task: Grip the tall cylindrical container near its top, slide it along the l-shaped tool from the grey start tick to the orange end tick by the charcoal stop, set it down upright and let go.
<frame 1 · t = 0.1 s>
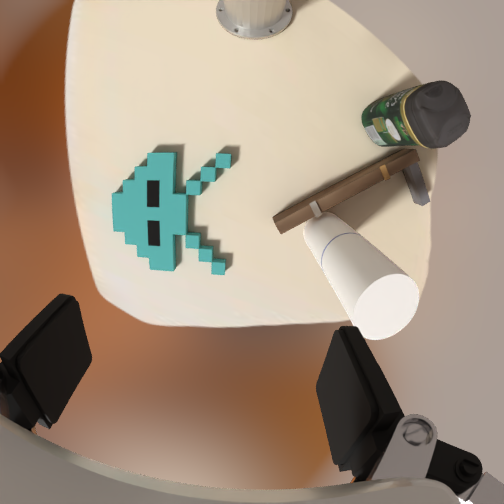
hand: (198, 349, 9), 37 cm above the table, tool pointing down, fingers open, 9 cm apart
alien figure: (169, 211, 46), on the table
cylindrical container: (323, 231, 47), on the table
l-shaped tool: (345, 185, 44), on the table
coffee jar: (383, 121, 40), on the table
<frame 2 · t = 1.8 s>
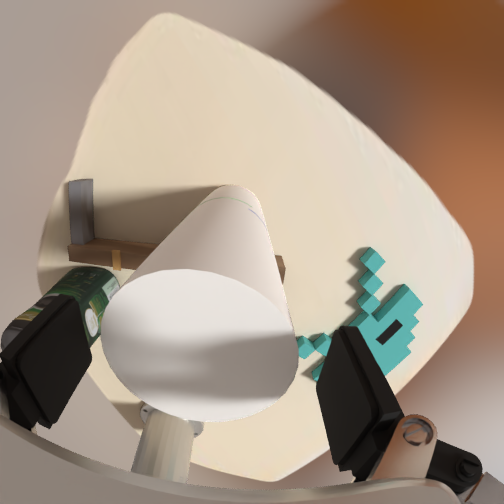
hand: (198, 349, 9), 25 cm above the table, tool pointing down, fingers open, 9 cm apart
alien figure: (360, 332, 39), on the table
cylindrical container: (231, 214, 33), on the table
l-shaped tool: (172, 253, 34), on the table
coffee jar: (97, 289, 36), on the table
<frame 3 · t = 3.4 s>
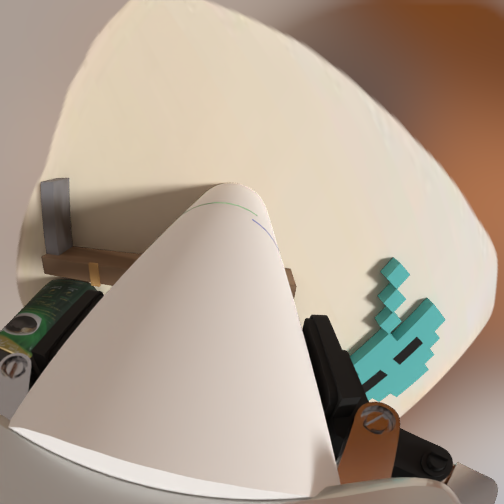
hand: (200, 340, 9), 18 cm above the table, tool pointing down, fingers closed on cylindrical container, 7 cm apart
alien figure: (376, 350, 34), on the table
cylindrical container: (230, 218, 27), on the table, touching gripper
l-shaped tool: (160, 265, 28), on the table
coffee jar: (79, 303, 30), on the table
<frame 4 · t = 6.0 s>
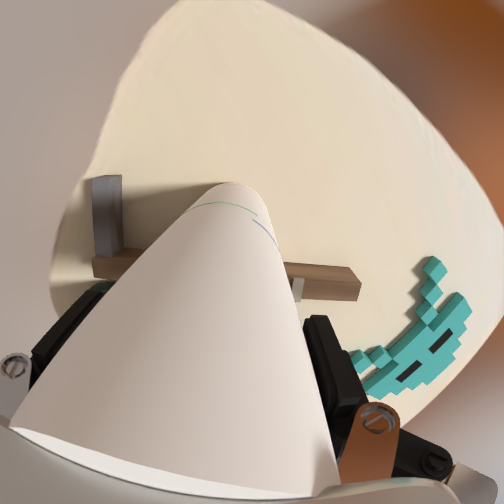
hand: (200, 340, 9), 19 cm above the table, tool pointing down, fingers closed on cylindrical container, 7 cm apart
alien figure: (412, 341, 35), on the table
cylindrical container: (230, 218, 27), point 1 cm above the table, touching gripper
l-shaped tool: (225, 265, 29), on the table
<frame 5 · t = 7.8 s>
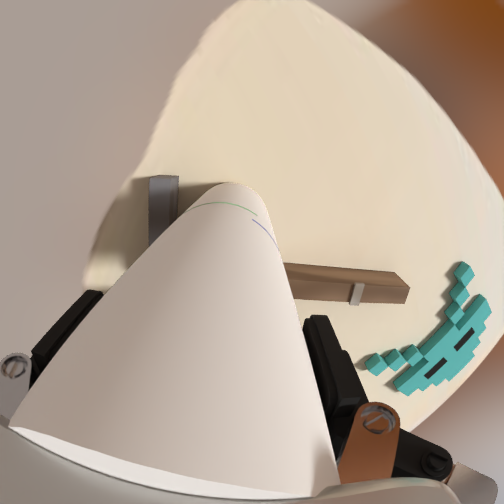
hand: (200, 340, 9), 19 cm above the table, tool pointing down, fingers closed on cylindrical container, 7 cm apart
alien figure: (439, 340, 35), on the table
cylindrical container: (230, 218, 27), point 1 cm above the table, touching gripper
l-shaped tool: (283, 271, 29), on the table
when the fingers open (18 cm above the table, at t = 9.1 s): cylindrical container stays where it is, on the table.
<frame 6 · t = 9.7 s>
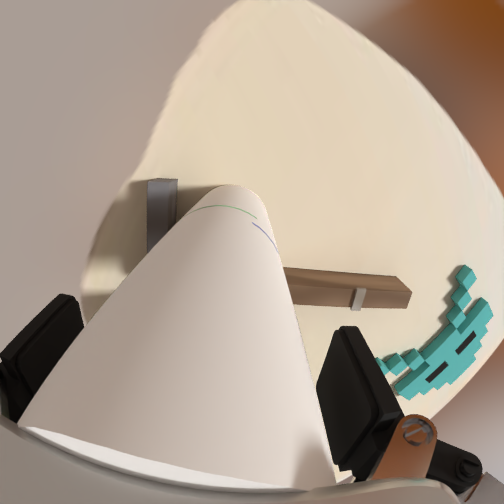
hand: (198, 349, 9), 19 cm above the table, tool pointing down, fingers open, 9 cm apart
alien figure: (440, 344, 35), on the table
cylindrical container: (231, 220, 27), on the table
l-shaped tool: (284, 276, 29), on the table
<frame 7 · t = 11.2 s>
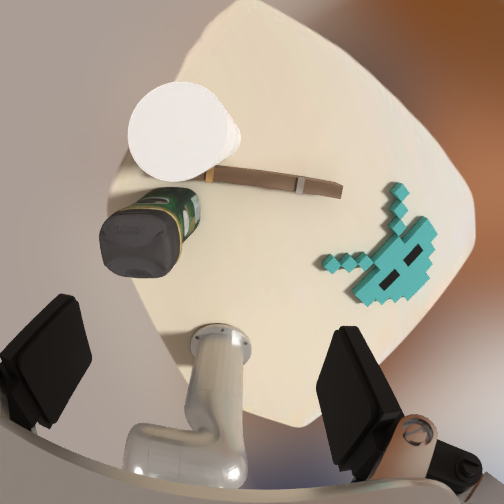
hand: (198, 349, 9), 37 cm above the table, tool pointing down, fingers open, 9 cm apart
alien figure: (390, 255, 48), on the table
cylindrical container: (217, 138, 40), on the table
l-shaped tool: (251, 175, 42), on the table
coffee jar: (174, 209, 44), on the table
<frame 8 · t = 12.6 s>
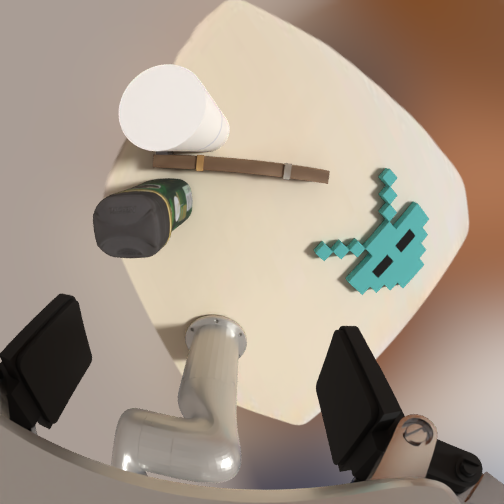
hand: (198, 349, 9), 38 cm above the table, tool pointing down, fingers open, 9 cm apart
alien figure: (382, 242, 49), on the table
cylindrical container: (207, 130, 42), on the table
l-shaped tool: (241, 165, 43), on the table
coffee jar: (167, 200, 45), on the table
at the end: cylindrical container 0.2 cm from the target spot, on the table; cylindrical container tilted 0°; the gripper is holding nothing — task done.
